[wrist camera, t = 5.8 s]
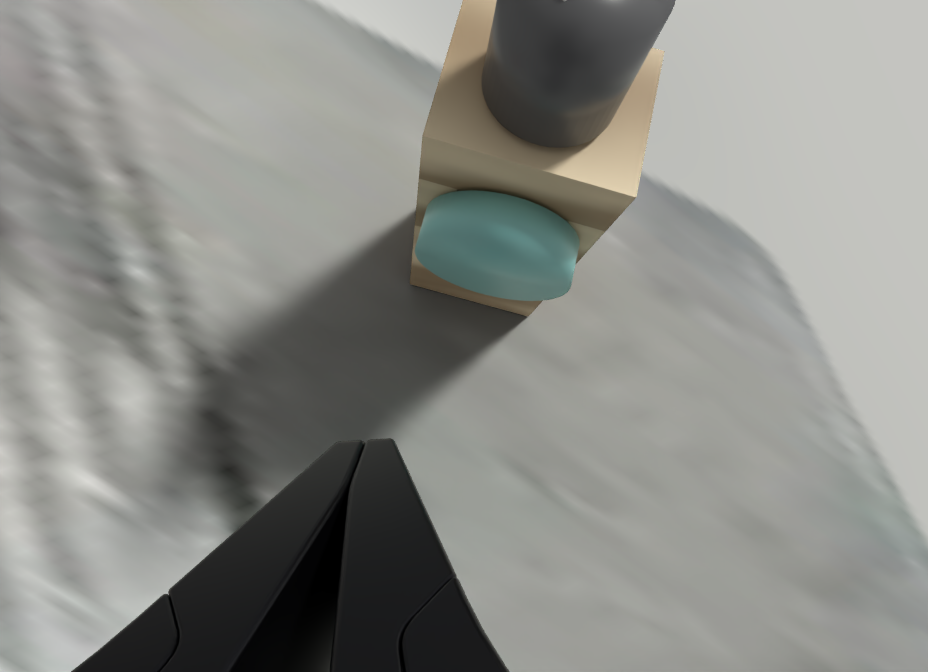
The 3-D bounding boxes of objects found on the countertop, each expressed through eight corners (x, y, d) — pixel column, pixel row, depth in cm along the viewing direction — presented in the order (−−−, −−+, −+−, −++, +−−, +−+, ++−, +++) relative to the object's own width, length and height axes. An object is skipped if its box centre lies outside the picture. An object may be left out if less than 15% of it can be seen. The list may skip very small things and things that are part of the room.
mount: (528, 316, 24) (636, 197, 13) (409, 284, 24) (422, 135, 13) (548, 228, 25) (664, 51, 14) (434, 196, 25) (465, -9, 14)
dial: (546, 173, 13) (593, 68, 10) (452, 72, 13) (469, -56, 10) (645, 101, 14) (715, -14, 11) (553, 10, 14) (596, -125, 11)
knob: (547, 311, 18) (593, 265, 14) (412, 274, 18) (418, 216, 14) (582, 150, 20) (635, 64, 16) (458, 114, 20) (475, 16, 15)
